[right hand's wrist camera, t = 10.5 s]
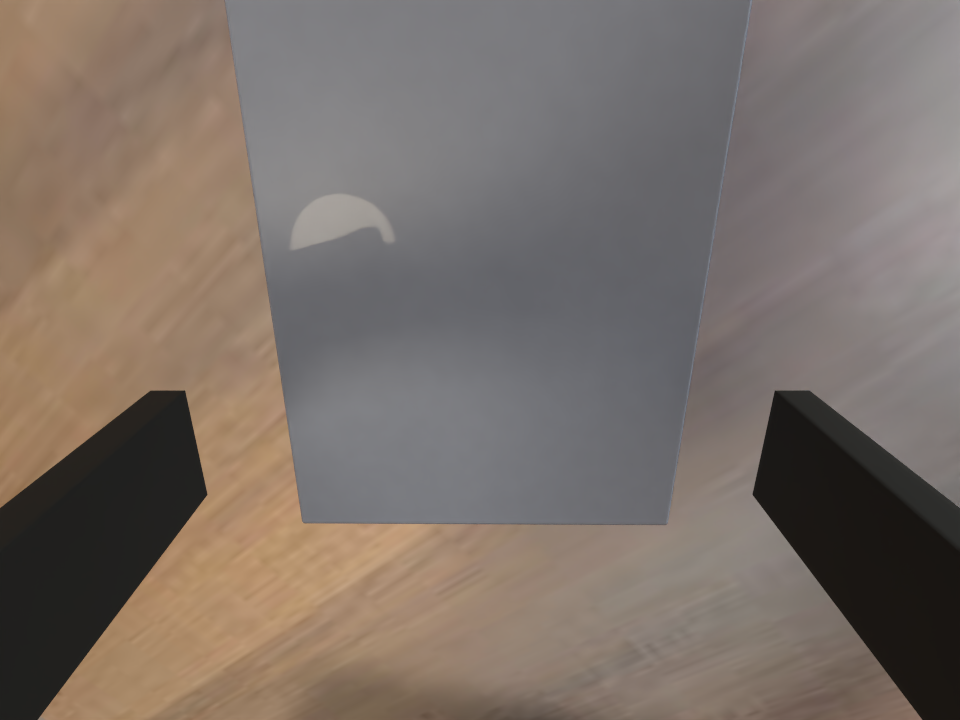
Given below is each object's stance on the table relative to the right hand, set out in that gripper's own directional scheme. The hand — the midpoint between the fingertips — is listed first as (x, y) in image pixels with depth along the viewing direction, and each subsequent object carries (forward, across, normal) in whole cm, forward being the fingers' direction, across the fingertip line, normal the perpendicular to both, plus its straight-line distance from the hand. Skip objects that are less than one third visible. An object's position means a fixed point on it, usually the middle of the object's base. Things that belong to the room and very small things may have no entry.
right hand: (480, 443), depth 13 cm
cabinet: (+12, 0, -4) cm, 13 cm away
